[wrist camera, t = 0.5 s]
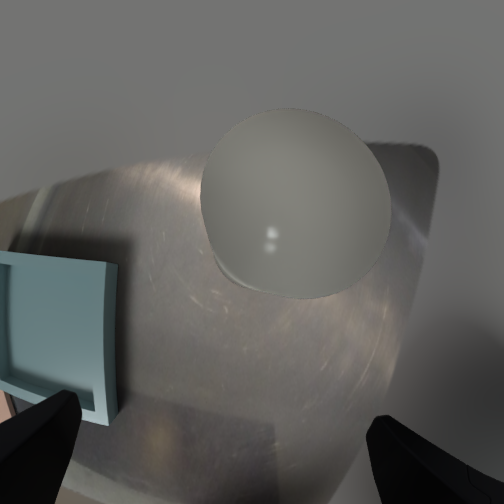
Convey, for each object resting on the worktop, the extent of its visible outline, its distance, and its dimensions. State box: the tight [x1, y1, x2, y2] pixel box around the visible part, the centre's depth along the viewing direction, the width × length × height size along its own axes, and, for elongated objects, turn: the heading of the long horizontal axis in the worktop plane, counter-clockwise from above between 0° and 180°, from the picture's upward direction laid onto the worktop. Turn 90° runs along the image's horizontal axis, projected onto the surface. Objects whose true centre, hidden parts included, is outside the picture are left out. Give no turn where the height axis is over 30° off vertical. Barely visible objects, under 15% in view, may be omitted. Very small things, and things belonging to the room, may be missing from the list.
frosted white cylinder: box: [200, 109, 392, 299], centre depth 15 cm, size 6×6×13 cm
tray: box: [0, 251, 118, 426], centre depth 18 cm, size 12×12×2 cm
